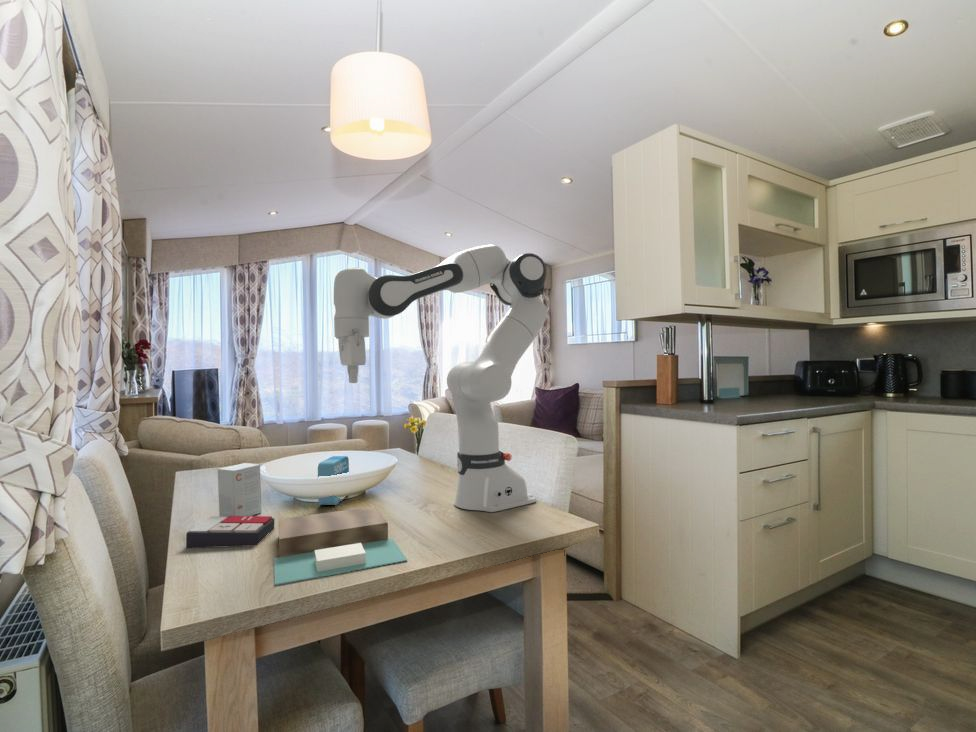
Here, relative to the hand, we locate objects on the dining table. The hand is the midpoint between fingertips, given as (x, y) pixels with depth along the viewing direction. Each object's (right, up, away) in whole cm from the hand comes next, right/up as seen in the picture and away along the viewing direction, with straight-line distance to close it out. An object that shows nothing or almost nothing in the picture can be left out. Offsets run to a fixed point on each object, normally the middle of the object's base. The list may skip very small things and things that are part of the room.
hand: (353, 383), depth 130 cm
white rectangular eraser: (+6, -33, -33) cm, 47 cm away
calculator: (-23, -35, -17) cm, 46 cm away
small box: (-29, -35, -1) cm, 46 cm away
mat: (+6, -34, -32) cm, 47 cm away
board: (+1, -34, -19) cm, 39 cm away
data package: (-9, -34, +12) cm, 37 cm away
